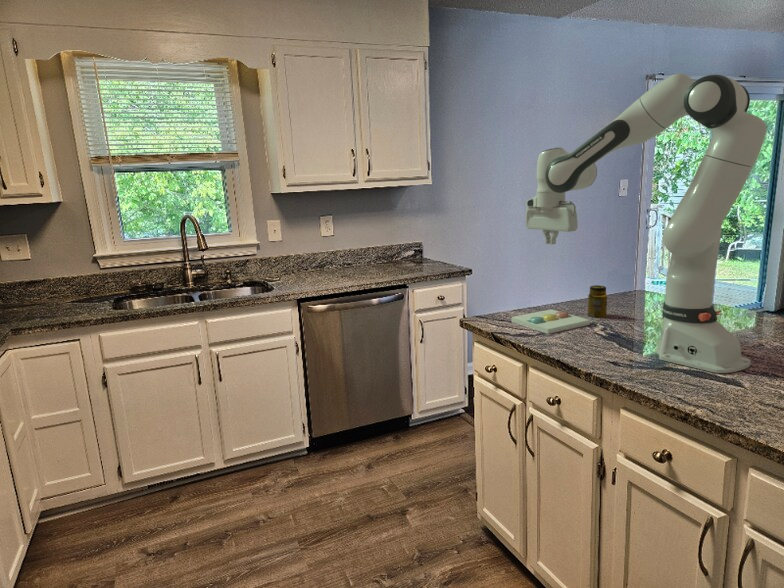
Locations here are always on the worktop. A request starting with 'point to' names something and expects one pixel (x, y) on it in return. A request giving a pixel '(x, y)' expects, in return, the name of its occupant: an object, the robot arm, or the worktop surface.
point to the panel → (550, 322)
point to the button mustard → (549, 317)
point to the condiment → (597, 302)
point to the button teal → (537, 320)
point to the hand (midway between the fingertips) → (550, 244)
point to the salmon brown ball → (562, 315)
